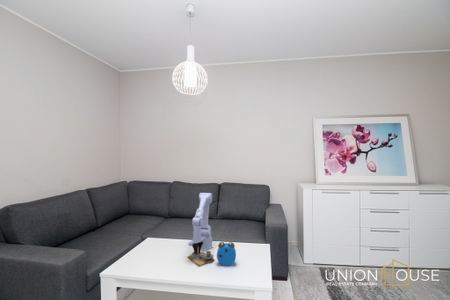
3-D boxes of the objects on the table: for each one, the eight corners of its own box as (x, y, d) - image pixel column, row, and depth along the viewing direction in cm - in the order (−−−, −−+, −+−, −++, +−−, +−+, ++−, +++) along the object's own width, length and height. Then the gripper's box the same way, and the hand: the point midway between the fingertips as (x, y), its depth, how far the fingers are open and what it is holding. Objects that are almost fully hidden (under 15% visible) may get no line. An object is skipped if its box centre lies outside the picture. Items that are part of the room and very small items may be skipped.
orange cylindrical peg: (197, 254, 164) (197, 245, 164) (199, 255, 162) (199, 245, 162) (194, 255, 162) (194, 246, 162) (197, 256, 160) (197, 246, 160)
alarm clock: (235, 262, 157) (235, 240, 157) (235, 266, 151) (235, 244, 151) (217, 261, 158) (217, 240, 158) (216, 266, 151) (216, 244, 151)
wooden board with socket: (202, 252, 171) (202, 244, 171) (215, 261, 158) (215, 252, 158) (187, 257, 163) (187, 248, 163) (199, 267, 150) (199, 257, 150)
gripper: (200, 229, 170) (200, 247, 170) (185, 235, 159) (185, 254, 159) (207, 232, 165) (207, 250, 165) (192, 237, 154) (192, 257, 154)
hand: (197, 252), depth 162 cm, fingers closed on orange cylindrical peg, 2 cm apart
